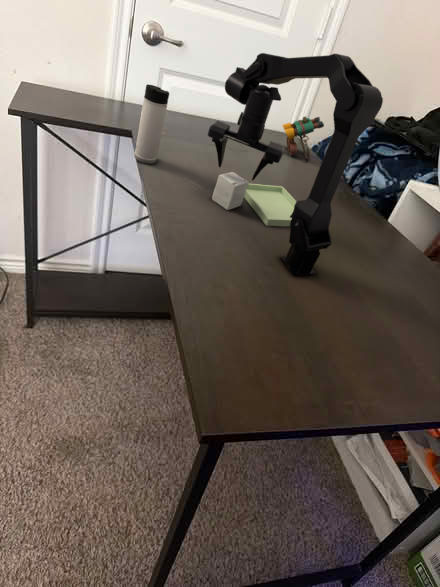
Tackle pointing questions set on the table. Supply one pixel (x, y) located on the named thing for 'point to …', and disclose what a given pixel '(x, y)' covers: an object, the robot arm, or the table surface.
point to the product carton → (230, 190)
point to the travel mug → (151, 124)
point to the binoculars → (301, 133)
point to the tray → (271, 203)
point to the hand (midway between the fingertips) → (236, 173)
